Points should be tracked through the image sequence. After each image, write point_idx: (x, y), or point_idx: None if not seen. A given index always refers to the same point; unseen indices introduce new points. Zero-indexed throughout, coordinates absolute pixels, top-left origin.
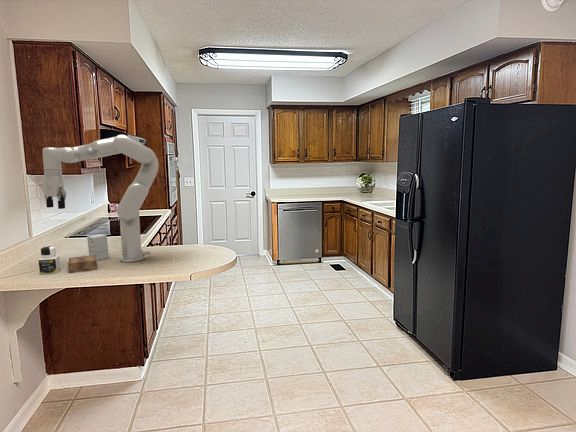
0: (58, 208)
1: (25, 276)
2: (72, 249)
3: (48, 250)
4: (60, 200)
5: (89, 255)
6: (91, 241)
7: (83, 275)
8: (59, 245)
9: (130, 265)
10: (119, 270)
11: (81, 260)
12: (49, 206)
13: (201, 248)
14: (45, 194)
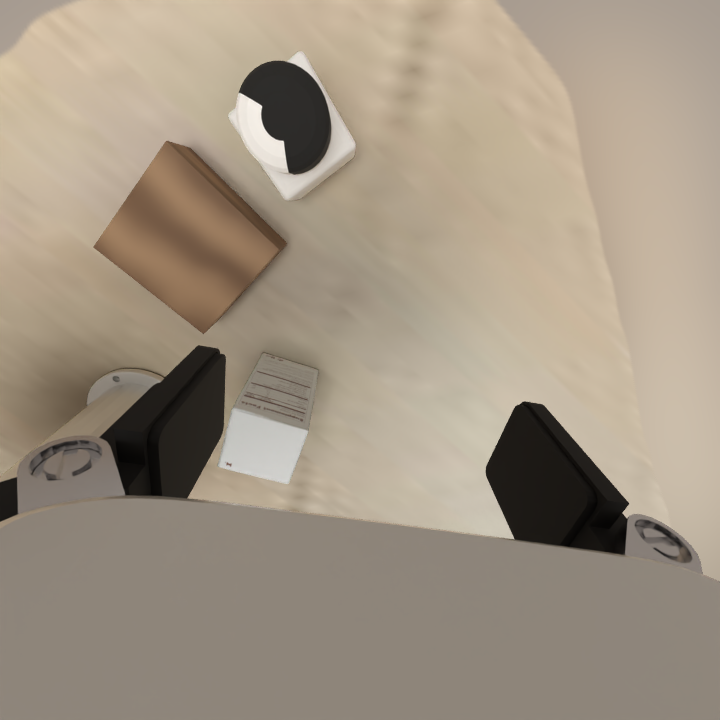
0: (215, 349)
1: (351, 13)
2: None
3: (244, 85)
4: (66, 452)
5: (312, 375)
6: (264, 402)
7: (80, 133)
8: None
9: (58, 337)
10: (17, 259)
11: (162, 222)
12: (511, 432)
13: None
14: (692, 601)
